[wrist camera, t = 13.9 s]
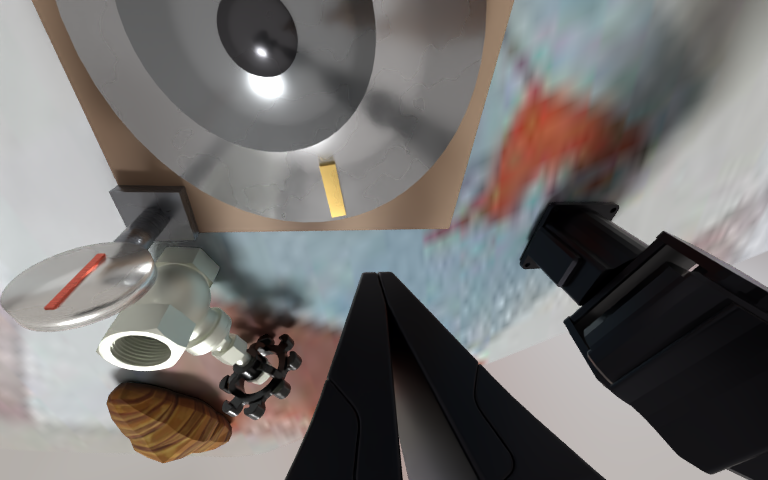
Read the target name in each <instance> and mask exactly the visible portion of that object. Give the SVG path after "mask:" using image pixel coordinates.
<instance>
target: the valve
mask: <svg viewBox="0 0 768 480" xmlns="http://www.w3.org/2000/svg"><path fill="white" fill-rule="evenodd" d="M155 265H156V267H157V270H158V276H157V279H156V281H155V283H154V285H153V286H152V288H151V289H150V290H149V291H148V292H147V293H146V294H145V295H144V296H143V297H142V298H141V299H140V300H138V301H137V302H135V303H134V304H133V305H131V306H129V307H128V308H126V309H125V310H123V311H121V312H120V313H119V315H118V316H117V318H116V319H115V320H114V322H113V323H112V325H111V326H110V328H109V329H108V331H107V332H106V334H105V336H104V337H103V339H102V341H101V343H100V344H99V346H98V348H97V350H96V352H97V353H98V354H99V355H100V356H101V357H102V358H104V359H105V360H107V361H108V362H110V363H112V364H114V365H116V366H119V367H122V368H125V369H130V370H137V371H153V370H161V369H166V368H170V367H172V366H173V365H174V364H175V363H176V362H177V361H178V359H179V358H180V357H181V355H182V354H183V352H184V351H185V350H186V351H188V352H189V353H191V354H192V355H195V356H196V355H203V354H205V353H208V352H209V351H212V355H213V356H214V357H216V358H217V359H218V360H220V361H221V362H223V363H225V364H228V365H233V371H234V373H233V374H232V375H231V376H229V375H227V376H225V377H224V378H223V379H222V380H221V382H220V384H219V387H220V389H222V390H223V391H225V392H226V393H228V394H233V395H234V396H235V397H234V399H233V400H232V401H230V402H229V401H227V400H225V402H224V403H223V406H222V411H223V412H224V413H226V414H228V415H230V416H232V417H235V416H237V415H238V414H239V413H240V412H241V411H242V409H243V406H244V405H246V404H249V405H250V406H249V408H245V409H244V414H245V415H246V416H248V417H250V418H252V419H253V420H257V419H259V418H260V417H262V415H263V414H264V412H265V408H266V407H265V401H266V399H267V398H269V397H270V396H271V395H275V396H276V397H277V398H279V399H284V398H286V397H287V396H288V395H289V393H290V390H291V386H290V384H289V383H287V382H286V381H285V380H284V379H285V376H286V374H287V372H288V371H289V370H296V369H297V368H299V367H300V365H301V363H302V359H301V357H300V356H299V355H298V354H297V353H296V352H294V351H291V352H290V356H289V357H288V356H287V351H289V350H291V349H292V347H293V346H294V341H293V339H292V338H291V337H290V336H289V335H287V334H283V335H281V336H280V337H279V339H280V340H281V342H280V344H279V345H274V343H275V342H274V340H273V339H272V338H271V337H270V336H269V335H268V334H265V335H262V336H260V337H259V339H258V341H257V342H256V343H253V344H252V345H251V346H250V347H249V349H247V343H246V342H245V341H244V340H242V339H241V338H240V337H239V336H238V335H236V334H231V333H229V332H230V328H231V318H230V317H229V316H228V315H227V314H226V313H225V312H224V311H222V310H221V309H220V308H210V307H209V306H210V301H211V293H210V287H211V285H212V284H213V283H214V280H215V278H216V275H217V273H218V270H219V266H218V265H217V264H216V263H215V262H214V261H213V260H212V259H211V258H210V257H209V256H208V255H207V254H206V253H205V252H204V251H203V250H202V249H201V248H192V247H166V248H165V250H164V251H163V252H162V254H161V255H160V257H159V258H158V259H157V261H156V262H155ZM270 354H276V355H278V358H279V366H278V369H276V368H274V367H272V364H270V363H269V362H268V360H267V358H266V357H264V356H266V355H270ZM269 377H272V378H273V379H272V380H271V382H270V383H269V384H268V385H267V386H266V387H265V388H263V389H262V390H261V391H258V392H256V393H253V394H246V393H245V391H244V381H245V380H246V381H247V382H253V383H255V384H259V385H261V384H262V383H264V382H265V381H266V380H267V379H268V378H269Z"/></svg>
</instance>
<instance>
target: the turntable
mask: <svg viewBox="0 0 768 480" xmlns="http://www.w3.org/2000/svg"><path fill="white" fill-rule="evenodd" d="M372 1H373V7H374V14H375V24H376V49H375V59H374V65H373V71H372V74H371V78H370V81H369V85H368V87H367V90H366V92H365V94H364V97H363V99H362V101H361V103H360V104H359V106H358V108H357V109H356V111H355V112H354V114H353V115H352V116H351V118H350V119H349V120H348V121H347V122H346V123H345V124H344V125H343V126H342V127H341V128H340V129H339V130H338V131H337V132H335V133H334V134H333V135H332V136H330V137H329V138H327V139H325V140H323V141H322V142H320V143H318V144H315V145H313V146H310V147H308V148H304V149H300V150H296V151H287V152H267V151H260V150H254V149H250V148H246V147H242V146H239V145H237V144H234V143H232V142H229V141H226V140H224V139H222V138H220V137H218V136H217V135H215V134H213V133H211V132H209V131H208V130H206V129H205V128H203V127H202V126H200V125H198V124H197V123H196V122H195V121H193V120H192V119H191V118H189V117H188V116H187V115H186V114H184V113H183V112H182V111H181V110H180V109H179V108H178V107H177V106H176V105H175V104H174V103H173V102H171V101H170V99H169V98H168V97H167V96H166V95H165V94H164V93H163V91H162V90H161V89H160V88H159V87H158V86H157V84H156V83H155V82H154V80H153V79H152V78H151V76H150V75H149V74H148V72H147V71H146V69H145V68H144V66H143V64H142V63H141V61H140V59H139V58H138V56H137V54H136V53H135V51H134V49H133V47H132V45H131V43H130V41H129V38H128V36H127V34H126V32H125V30H124V27H123V24H122V21H121V19H120V16H119V13H118V10H117V6H116V2H115V0H56V3H57V7H58V10H59V13H60V16H61V18H62V21H63V23H64V25H65V27H66V30H67V32H68V34H69V36H70V39H71V41H72V43H73V45H74V48H75V50H76V52H77V54H78V56H79V58H80V59H81V61H82V63H83V65H84V66H85V68H86V70H87V72H88V73H89V75H90V77H91V79H92V80H93V82H94V84H95V86H96V87H97V88H98V90H99V91H100V93H101V94H102V95H103V97H104V98H105V100H106V101H107V103H108V104H109V105H110V107H111V108H112V110H113V111H114V112H115V114H116V115H117V116H118V117H119V119H120V120H121V121H122V122H123V123H124V124H125V125H126V127H127V128H128V129H129V130H130V131H131V132H132V134H133V135H134V136H135V137H136V138H137V139H138V140H139V141H140V142H141V143H142V144H143V145H144V146H145V147H146V148H147V149H148V150H149V151H150V152H151V153H152V154H153V155H154V156H155V157H156V158H157V159H158V160H160V161H161V162H162V163H163V164H165V165H166V166H167V167H168V168H170V169H171V170H172V171H173V172H175V173H176V174H177V175H178V176H180V177H181V178H183V179H184V180H186V181H187V182H189V183H190V184H192V185H193V186H195V187H196V188H198V189H199V190H201V191H203V192H205V193H207V194H208V195H210V196H212V197H214V198H216V199H218V200H220V201H222V202H224V203H226V204H229V205H231V206H233V207H236V208H238V209H241V210H243V211H246V212H250V213H253V214H256V215H260V216H263V217H268V218H273V219H278V220H283V221H294V222H325V221H333V220H340V219H344V218H349V217H353V216H357V215H360V214H362V213H365V212H368V211H371V210H373V209H375V208H377V207H379V206H381V205H383V204H385V203H387V202H389V201H391V200H393V199H394V198H396V197H397V196H399V195H400V194H402V193H403V192H405V191H406V190H407V189H409V188H410V187H411V186H412V185H413V184H415V183H416V182H417V181H418V180H419V179H420V178H421V177H422V176H423V175H424V174H425V173H426V172H427V171H428V170H429V169H430V168H431V167H432V166H433V165H434V164H435V162H436V161H437V160H438V158H439V157H440V156H441V155H442V153H443V152H444V151H445V149H446V148H447V146H448V145H449V143H450V141H451V140H452V138H453V136H454V135H455V133H456V132H457V130H458V127H459V125H460V123H461V121H462V119H463V117H464V115H465V113H466V111H467V108H468V105H469V102H470V100H471V97H472V94H473V91H474V89H475V85H476V81H477V77H478V73H479V69H480V65H481V60H482V53H483V46H484V39H485V28H486V7H487V1H486V0H372Z"/></svg>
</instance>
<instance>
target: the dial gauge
mask: <svg viewBox="0 0 768 480" xmlns="http://www.w3.org/2000/svg"><path fill="white" fill-rule="evenodd" d="M109 193H110V195H111V197H112V199H113V201H114V203H115V205H116V207H117V209H118V211H119V213H120V215H121V217H122V219H123V221H124V223H125V225H126V227H127V228H126V229H125V230H124V231H123V232H122V233H121V234H120V235H119V236H118V237H117V239H116V240H115V241H114V242H109V243H99V244H93V245H88V246H83V247H79V248H75V249H72V250H69V251H66V252H63V253H60V254H57V255H55V256H52V257H50V258H47V259H45V260H43V261H41V262H39V263H37V264H35V265H33V266H32V267H30V268H28V269H27V270H25V271H24V272H22V273H21V274H19V275H18V276H17V277H15V278H14V279H13V280H12V281H11V282H10V283H9V284H8V285H7V286H6V288H5V289H4V291H3V292H2V295H1V301H0V302H1V305H2V307H3V308H4V310H5V311H6V312H7V313H8V314H9V315H10V316H11V317H12V318H13V319H14V320H15V321H16V322H17V323H18V324H19V325H21V326H22V327H24V328H26V329H29V330H33V331H41V332H55V331H64V330H70V329H75V328H79V327H83V326H87V325H90V324H93V323H96V322H99V321H101V320H104V319H106V318H109V317H111V316H113V315H115V314H117V313H119V312H121V311H123V310H125V309H126V308H128V307H129V306H131V305H133V304H134V303H135V302H137V301H138V300H140V299H141V298H142V297H143V296H144V295H145V294H146V293H147V292H148V291H149V290H150V289H151V288H152V286H153V285H154V283H155V281H156V279H157V276H158V270H157V267H156V265H155V262H154V260H153V258H152V256H151V254H150V252H149V251H148V249H149V248H150V246H151V245H152V244H153V242H154V241H192V240H196V238H197V236H198V234H199V233H200V232H199V229H198V226H197V223H196V220H195V217H194V214H193V211H192V208H191V204H190V201H189V198H188V195H187V192H186V189H185V186H152V185H117V186H116V187H115V188H114V189H112V190H111V191H110V192H109Z"/></svg>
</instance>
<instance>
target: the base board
mask: <svg viewBox="0 0 768 480" xmlns="http://www.w3.org/2000/svg"><path fill="white" fill-rule="evenodd" d="M486 1H487V7H486V28H485V39H484V46H483V53H482V60H481V65H480V69H479V73H478V77H477V81H476V85H475V89H474V91H473V94H472V97H471V100H470V102H469V105H468V108H467V111H466V113H465V115H464V117H463V119H462V121H461V123H460V125H459V127H458V130H457V132H456V133H455V135H454V136H453V138H452V140H451V141H450V143H449V145H448V146H447V148H446V149H445V151H444V152H443V153H442V155H441V156H440V157H439V158H438V160H437V161H436V162H435V164H434V165H433V166H432V167H431V168H430V169H429V170H428V171H427V172H426V173H425V174H424V175H423V176H422V177H421V178H420V179H419V180H418V181H417V182H416V183H415V184H413V185H412V186H411V187H410V188H409V189H407V190H406V191H405V192H403V193H402V194H400V195H399V196H397V197H396V198H394V199H393V200H391V201H389V202H387V203H385V204H383V205H381V206H379V207H377V208H375V209H373V210H371V211H368V212H365V213H362V214H360V215H357V216H353V217H349V218H344V219H340V220H333V221H325V222H294V221H283V220H278V219H273V218H268V217H263V216H260V215H256V214H253V213H250V212H246V211H243V210H241V209H238V208H236V207H233V206H231V205H229V204H226V203H224V202H222V201H220V200H218V199H216V198H214V197H212V196H210V195H208V194H207V193H205V192H203V191H201V190H199V189H198V188H196V187H195V186H193V185H192V184H190V183H189V182H187V181H186V180H184V179H183V178H181V177H180V176H178V175H177V174H176V173H175V172H173V171H172V170H171V169H170V168H168V167H167V166H166V165H165V164H163V163H162V162H161V161H160V160H158V159H157V158H156V157H155V156H154V155H153V154H152V153H151V152H150V151H149V150H148V149H147V148H146V147H145V146H144V145H143V144H142V143H141V142H140V141H139V140H138V139H137V138H136V137H135V136H134V135H133V134H132V132H131V131H130V130H129V129H128V128H127V127H126V125H125V124H124V123H123V122H122V121H121V120H120V119H119V117H118V116H117V115H116V114H115V112H114V111H113V110H112V108H111V107H110V105H109V104H108V103H107V101H106V100H105V98H104V97H103V95H102V94H101V93H100V91H99V90H98V88H97V87H96V86H95V84H94V82H93V80H92V79H91V77H90V75H89V73H88V72H87V70H86V68H85V66H84V65H83V63H82V61H81V59H80V58H79V56H78V54H77V52H76V50H75V48H74V45H73V43H72V41H71V39H70V36H69V34H68V32H67V30H66V27H65V25H64V23H63V21H62V18H61V16H60V13H59V10H58V7H57V3H56V0H32V2H33V4H34V6H35V8H36V11H37V13H38V15H39V17H40V19H41V21H42V23H43V26H44V28H45V30H46V32H47V34H48V36H49V38H50V40H51V43H52V45H53V47H54V49H55V51H56V53H57V55H58V58H59V60H60V62H61V64H62V66H63V68H64V70H65V73H66V75H67V77H68V79H69V81H70V83H71V85H72V87H73V90H74V92H75V94H76V96H77V98H78V100H79V102H80V105H81V107H82V109H83V111H84V113H85V115H86V117H87V119H88V122H89V124H90V126H91V128H92V130H93V132H94V134H95V137H96V139H97V141H98V143H99V145H100V147H101V149H102V152H103V154H104V156H105V158H106V160H107V162H108V164H109V166H110V169H111V171H112V173H113V175H114V177H115V179H116V181H117V184H118V185H152V186H185V189H186V192H187V195H188V198H189V201H190V204H191V208H192V211H193V214H194V217H195V220H196V223H197V226H198V229H199V232H200V233H205V232H267V231H328V230H390V229H449V227H450V223H451V220H452V216H453V213H454V209H455V206H456V202H457V199H458V195H459V192H460V188H461V185H462V181H463V178H464V174H465V171H466V167H467V164H468V160H469V157H470V153H471V150H472V146H473V143H474V139H475V136H476V132H477V129H478V125H479V122H480V118H481V115H482V111H483V108H484V104H485V101H486V97H487V94H488V90H489V87H490V83H491V80H492V76H493V73H494V69H495V66H496V62H497V59H498V55H499V52H500V48H501V45H502V41H503V38H504V34H505V31H506V27H507V24H508V20H509V17H510V13H511V10H512V6H513V3H514V0H486Z"/></svg>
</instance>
